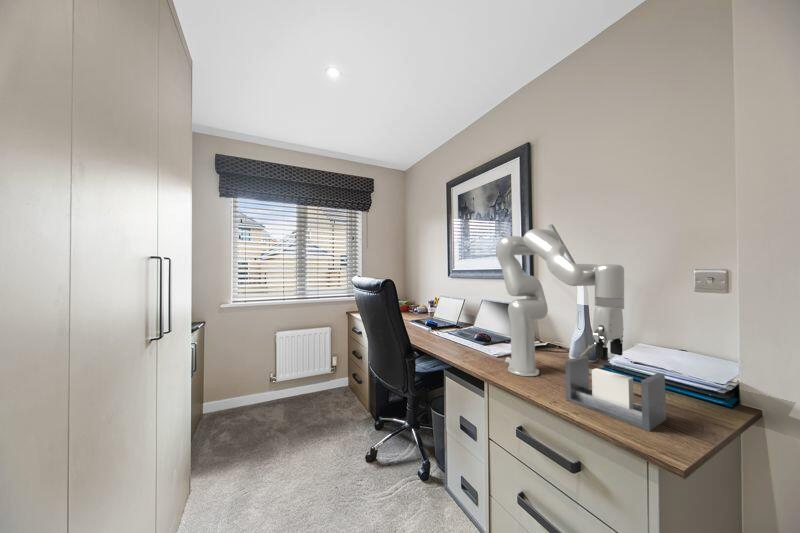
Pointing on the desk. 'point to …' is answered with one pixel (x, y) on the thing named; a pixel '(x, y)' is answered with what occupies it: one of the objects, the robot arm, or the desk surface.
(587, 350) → the jawbone
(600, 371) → the door
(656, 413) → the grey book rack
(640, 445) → the desk surface
